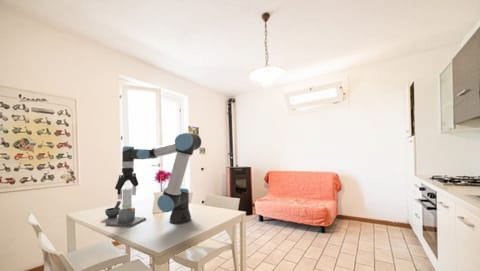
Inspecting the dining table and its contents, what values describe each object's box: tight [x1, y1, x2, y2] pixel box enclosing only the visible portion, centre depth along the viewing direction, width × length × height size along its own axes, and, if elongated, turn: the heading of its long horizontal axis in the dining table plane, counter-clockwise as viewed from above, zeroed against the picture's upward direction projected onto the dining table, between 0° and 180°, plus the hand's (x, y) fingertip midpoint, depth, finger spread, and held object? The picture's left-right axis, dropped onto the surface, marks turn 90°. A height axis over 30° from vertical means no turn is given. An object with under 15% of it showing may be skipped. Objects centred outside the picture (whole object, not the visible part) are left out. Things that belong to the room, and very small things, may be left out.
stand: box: [105, 207, 147, 228], centre depth 152 cm, size 20×16×10 cm
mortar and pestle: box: [104, 200, 122, 221], centre depth 163 cm, size 11×9×12 cm
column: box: [121, 187, 133, 210], centre depth 153 cm, size 5×4×17 cm
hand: (127, 197), depth 153 cm, fingers open, 13 cm apart
